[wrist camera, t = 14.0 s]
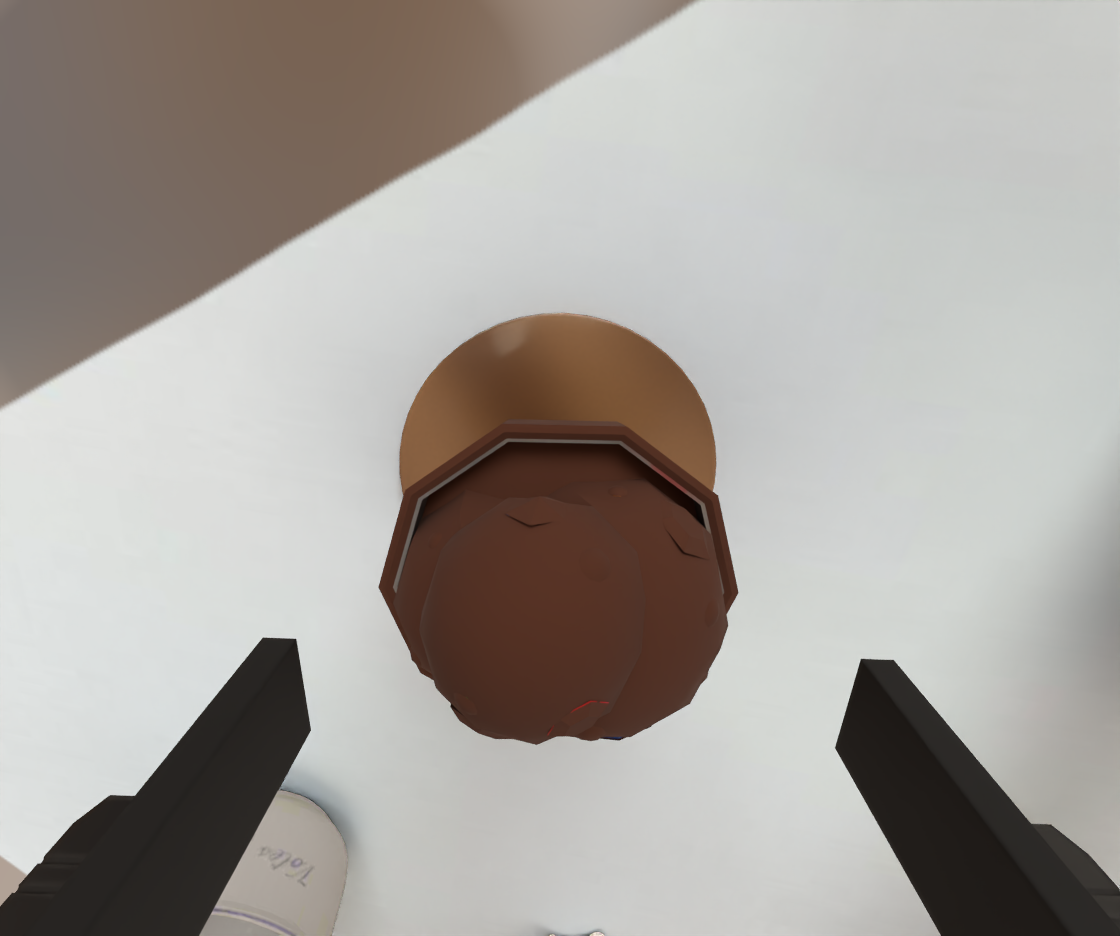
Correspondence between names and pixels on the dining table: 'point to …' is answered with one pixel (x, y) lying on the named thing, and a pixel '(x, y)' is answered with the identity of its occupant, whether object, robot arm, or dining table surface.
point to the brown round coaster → (557, 391)
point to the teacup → (285, 876)
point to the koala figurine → (594, 935)
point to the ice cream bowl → (561, 581)
